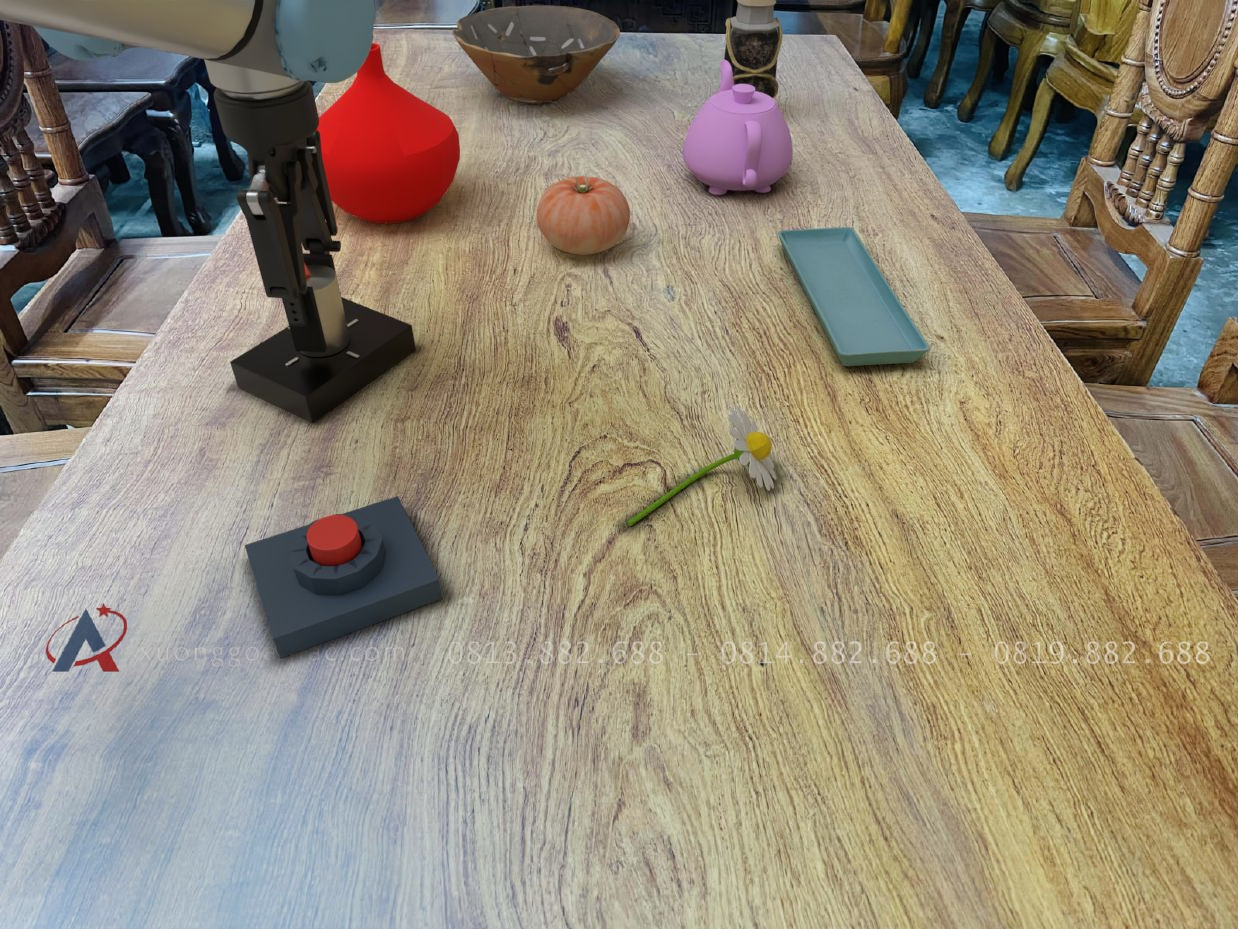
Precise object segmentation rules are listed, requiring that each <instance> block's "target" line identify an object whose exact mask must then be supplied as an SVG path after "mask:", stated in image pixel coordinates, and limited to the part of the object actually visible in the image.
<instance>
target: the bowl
mask: <svg viewBox="0 0 1238 929" xmlns="http://www.w3.org/2000/svg"><path fill="white" fill-rule="evenodd" d="M456 27H457V29H455V28H452V35H453V37H454V39H455V40H456V42H457V44H458V46H460V48H461V49H462V50H463V51H464V53H465V54H466V55H467V56H468V57H469V58H470V59H471V61H472V62H473V63H474V65H475V66H476V67H477V68H478V69H479V71H480V72H481V73H482V74H483V75H484V76H485V78H486V79H487V80H488V81H489V82H490V84H491V85H492V86H493V87H495V89H496V90H497V91H498V92H499V93H500V94H502V95H503V96H504V97H506V98H507V99H510V100H511V101H514V102H518V103H523V104H531V105H532V104H535V105H537V104H539V105H540V104H544V103H545V104H547V103H549V102H556V101H559V100H562V99H563V98H565V97H566V96H568V95H569V94H570V93H573V92H574V91H575V90H577V88H578V87H580V85H581V84H582V83H583V82H584V81H585V80H586V79H587V78H588V77H589V75H591V73H592V72H593V71H594V70H595V68H596V67H597V66H598V64H599V63H600V62H601V61H602V59H603V58H604V57H605V56H606V55H607V54H608V53H609V51H611V49H612V48H613V46H615V44H616V42H617V41H618V39H619V38H620V35H621V30H620V28H619V26H618V25H617V23H616V22H615V21H614V20H611V19H610V18H608V17H607V16H605V15H602V14H600V13H598V12H595V11H592V10H589V9H584V8H579V7H572V6H567V5H566V6H565V5H548V4H547V5H545V4H543V5H542V4H541V5H539V4H538V5H537V4H535V5H520V6H519V5H518V6H514V5H513V6H502V7H501V6H500V7H495V8H488V9H485V10H482V11H478V12H475V13H472V14H468V15H466V16H463V17H462V18H460V19H458V20H457V21H456Z"/></svg>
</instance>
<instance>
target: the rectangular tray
mask: <svg viewBox="0 0 1238 929" xmlns="http://www.w3.org/2000/svg"><path fill="white" fill-rule="evenodd" d="M777 236H778V238H779V241H780V243H781V246H782V248H783V251H784V252H785V255H786V256H787V258H788V261H789V263H790V264H791V266H792V269H793V271H794V273H795V274H796V277H797V279H798V281H799V283H800V285H801V287H802V289H803V291H804V294H805V295H806V297H807V299H808V301H809V303H810V306H811V307H812V309H813V311H814V313H815V315H816V317H817V319H818V321H819V323H820V325H821V327H822V329H823V330H824V332H825V334H826V337H827V338H828V340H829V343H830V344H831V346H832V348H833V350H834V352H835V354H836V356H837V358H838V360H839V362H840V364H841V365H842V366H844V367H857V366H858V367H861V366H876V365H877V366H878V365H892V364H893V365H894V364H909V363H914V362H916V361H918V360H920V358H922V357H924V356H925V355H926V354H927V353H928V352H930V350H931V346H930V345H929V343H928V342H927V340H926V339H925V337H924V336H923V335H922V333H921V331H920V330H919V328H918V327H917V326H916V324H915V322H914V321H913V319H912V317H911V316H910V314H909V313H908V311H907V310H906V308H905V307H904V306H903V304H902V302H901V301H900V300H899V298H898V297H897V294H896V293H895V292H894V290H893V288H892V286H891V285H890V283H889V282H888V280H887V279H886V277H885V276H884V274H883V272H882V270H881V269H880V268H879V266H878V264H877V263H876V261H875V260H874V258H873V257H872V255H871V254H870V252H869V250H868V248H867V247H866V246H865V244H864V242H863V240H862V239H861V238H860V236H859V235H858V233H857V232H856V230H855V228H853V227H851V226H837V227H819V228H801V229H799V228H798V229H797V228H796V229H782V230H778V231H777Z"/></svg>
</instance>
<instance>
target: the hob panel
mask: <svg viewBox="0 0 1238 929" xmlns="http://www.w3.org/2000/svg"><path fill="white" fill-rule="evenodd" d="M341 299H342V303H343V308H344V313H345V318H346V323H347V327H348V332H349V337H350V341H349V344H348V345H347V346H346V347H345V348H344V349H343V350H342V351H340V352H338V353H336V354H333V355H330V356H325V357H310V356H306V355H303V354H302V353H300V352H299V351H296V350H295V346H294V343H293V339H292V335H291V331H290V327H289V325H288V326H286V327H285V328H283V329H281V330H280V331H278V332H276V333H275V334H273V335H272V336H270V337H268V338H267V339H265V340H263V341H261V343H260V342H259V344H257V345H256V346H254V347H252V348H250V349H248V350H247V351H245V352H243V353H242V354H240V355H238V356H237V357H235V358H234V359H231V360H230V361H229V363H230V366H231V370H232V373H233V376H234V379H235V383H236V385H237V388H238V389H240V390H243V391H245V392H247V393H249V394H251V395H253V396H255V397H258V398H259V399H262V400H264V401H266V402H268V403H270V404H272V405H275V406H276V407H278V408H280V409H282V410H285V411H286V412H289V413H290V414H293V415H294V416H297V417H299V418H300V419H303V420H305V421H307V422H309V423H311V424H314V423H315V422H317V420H319V419H320V418H322V417H323V416H325V415H326V414H328V413H329V412H331V411H332V410H333V409H335V408H336V407H338V406H339V405H341V404H342V403H343V402H345V401H346V400H348V399H349V398H351V396H353V395H354V394H356V393H357V392H359V391H361V390H362V389H363V388H364V387H366V386H367V385H369V384H370V383H371V382H373V381H375V380H376V379H378V378H379V377H380V376H382V374H384V373H386V372H388V371H389V370H390V369H391V368H393V367H394V366H396V365H397V364H398V363H400V362H401V361H403V360H404V359H405V358H406V357H408V356H410V355H411V354H413V353H414V352H415V351H416V350H417V348H416V342H415V336H414V330H413V329H414V328H413V325H412V324H410V323H408V322H405V321H402V320H401V319H397V318H395V317H393V316H390V315H388V314H385V313H383V312H380V311H378V310H376V309H372V308H370V307H367V306H365V305H363V304H361V303H358V302H356V301H352V300H350V299H347V298H346V297H342V296H341Z"/></svg>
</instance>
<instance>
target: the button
mask: <svg viewBox="0 0 1238 929" xmlns="http://www.w3.org/2000/svg"><path fill="white" fill-rule="evenodd" d="M317 520H318V521H316V520H315V521H316V522H315V523H314V524H312V526H311V527H310V528H309V530H308V532H307V541H308V545H309V548H310V551H311V554H312V557H313V559H314V560H315V561H316V562H317V563H319V564H321V565H324V566H339V565H342V564H345V563H348V562H350V561H351V560H353V559H354V558H355V557H356V556H357V555H358V554H359V552H360V550H361V546H362V543H361V539H360V535H359V531H358V527H357V524H356V522H355V521H354V520H353V519H351V518H350V517H347V516H344V515H334V514H331V515H326V516H324V517H322V518H319V519H317Z"/></svg>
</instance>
